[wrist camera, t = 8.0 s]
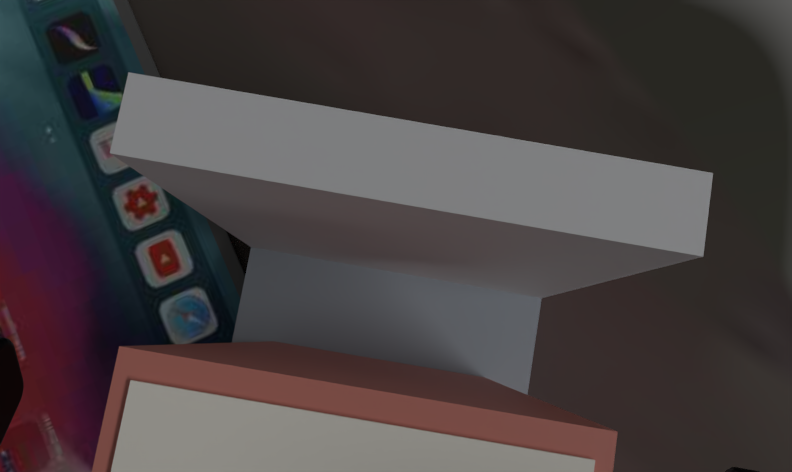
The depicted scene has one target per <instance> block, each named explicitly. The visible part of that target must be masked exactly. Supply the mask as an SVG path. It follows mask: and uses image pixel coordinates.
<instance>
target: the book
mask: <svg viewBox="0 0 792 472" xmlns="http://www.w3.org/2000/svg"><path fill="white" fill-rule="evenodd" d="M617 433H618V432H617V431H615V430H612V429H610V428H607V427H605V426H602V425H600V424H597V423H595V422H593V421H590V420H588V419H585V418H583V417H580V416H578V415H575V414H573V413H571V412H568V411H566V410H563V409H561V408H558V407H556V406H553V405H551V404H549V403H546V402H544V401H541V400H539V399H536V398H534V397H531V396H529V395H527V394H524V393H522V392H519V391H517V390H514V389H512V388H509V387H507V386H504V385H502V384H500V383H497V382H495V381H492V380H490V379H487V378H485V377H479V376H474V375H468V374H462V373H456V372H450V371H444V370H439V369H433V368H427V367H421V366H415V365H409V364H403V363H398V362H392V361H386V360H380V359H374V358H368V357H363V356H357V355H351V354H345V353H339V352H333V351H328V350H322V349H316V348H310V347H304V346H298V345H292V344H287V343H281V342H275V341H266V342H235V343H204V344H172V345H141V346H119V349H118V354H117V359H116V363H115V368H114V372H113V377H112V381H111V386H110V391H109V395H108V400H107V404H106V409H105V413H104V418H103V423H102V427H101V432H100V436H99V441H98V445H97V450H96V454H95V459H94V464H93V468H92V472H613V465H614V457H615V449H616V441H617Z"/></svg>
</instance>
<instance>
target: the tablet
mask: <svg viewBox="0 0 792 472" xmlns="http://www.w3.org/2000/svg"><path fill="white" fill-rule="evenodd" d="M128 72H130V73H136V74H141V75H147V76H153V77H159V78H161V77H160V74H159V72H158V70H157V67H156V65H155V63H154V60H153V58H152V56H151V53H150V51H149V49H148V46H147V44H146V42H145V39H144V37H143V35H142V32H141V30H140V28H139V25H138V23H137V21H136V18H135V16H134V14H133V11H132V9H131V7H130V4H129V2H128V0H0V337H4V338H7V339H9V340H10V341H11V342H12V343H13V344H14V347H15V350H16V354H17V358H18V362H19V366H20V370H21V373H22V377H23V383H24V389H23V394H22V398H21V401H20V403H19V405H18V407H17V410H16V412H15V414H14V416H13V418H12V421H11V423H10V425H9V427H8V429H7V432H6V434H5V436H4V438H3V441H2V443H1V445H0V472H92V468H93V464H94V459H95V454H96V450H97V445H98V441H99V436H100V432H101V427H102V423H103V418H104V413H105V409H106V404H107V400H108V395H109V391H110V386H111V381H112V377H113V372H114V368H115V363H116V359H117V354H118V349H119V346H141V345H172V344H204V343H232V338H233V333H234V329H235V324H236V319H237V314H238V309H239V304H240V299H241V294H242V289H243V284H244V279H245V273H244V271H243V268H242V266H241V264H240V261H239V259H238V257H237V254H236V252H235V250H234V247H233V245H232V243H231V240H230V238H229V236H228V233H227V231H226V230H224V229H223V228H221V227H220V226H218V225H217V224H215V223H214V222H212V221H211V220H209V219H208V218H206V217H205V216H203V215H202V214H200V213H199V212H197V211H196V210H194V209H193V208H191V207H190V206H188V205H187V204H185V203H184V202H182V201H181V200H179V199H178V198H176V197H175V196H173V195H172V194H170V193H169V192H167V191H166V190H164V189H163V188H161V187H160V186H158V185H157V184H155V183H154V182H152V181H151V180H149V179H148V178H146V177H145V176H143V175H142V174H140V173H139V172H137V171H136V170H134V169H133V168H131V167H130V166H128V165H126V164H125V163H123V162H122V161H120V160H119V159H117V158H116V157H114V156H113V155H111V154H110V149H111V145H112V141H113V136H114V132H115V128H116V124H117V119H118V115H119V111H120V107H121V102H122V98H123V94H124V90H125V85H126V81H127V77H128Z"/></svg>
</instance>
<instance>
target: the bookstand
mask: <svg viewBox="0 0 792 472" xmlns="http://www.w3.org/2000/svg"><path fill="white" fill-rule="evenodd" d="M110 154H111V155H113V156H114V157H116V158H117V159H119V160H120V161H122V162H123V163H125V164H126V165H128V166H130V167H131V168H133V169H134V170H136V171H137V172H139V173H140V174H142V175H143V176H145V177H146V178H148V179H149V180H151V181H152V182H154V183H155V184H157V185H158V186H160V187H161V188H163V189H164V190H166V191H167V192H169V193H170V194H172V195H173V196H175V197H176V198H178V199H179V200H181V201H182V202H184V203H185V204H187V205H188V206H190V207H191V208H193V209H194V210H196V211H197V212H199V213H200V214H202V215H203V216H205V217H206V218H208V219H209V220H211V221H212V222H214V223H215V224H217V225H218V226H220V227H221V228H223V229H224V230H226V231H227V232H229V233H230V234H232V235H233V236H235V237H236V238H238V239H239V240H241V241H243V242H244V243H246V244H247V245H249V246H250V247H251V250H250V255H249V260H248V265H247V270H246V275H245V279H244V284H243V289H242V294H241V299H240V304H239V309H238V314H237V319H236V324H235V329H234V333H233V338H232V343H235V342H266V341H275V342H281V343H287V344H292V345H298V346H304V347H310V348H316V349H322V350H328V351H333V352H339V353H345V354H351V355H357V356H363V357H368V358H374V359H380V360H386V361H392V362H398V363H403V364H409V365H415V366H421V367H427V368H433V369H439V370H444V371H450V372H456V373H462V374H468V375H474V376H479V377H485V378H487V379H490V380H492V381H495V382H497V383H500V384H502V385H504V386H507V387H509V388H512V389H514V390H517V391H519V392H522V393H524V394H528V387H529V380H530V373H531V366H532V360H533V353H534V346H535V339H536V332H537V326H538V319H539V312H540V305H541V298H544V297H548V296H552V295H555V294H559V293H563V292H567V291H571V290H575V289H579V288H583V287H587V286H591V285H594V284H598V283H602V282H606V281H610V280H614V279H618V278H622V277H626V276H629V275H633V274H637V273H641V272H645V271H649V270H653V269H657V268H661V267H665V266H668V265H672V264H676V263H680V262H684V261H688V260H692V259H696V258H700V257H703V254H704V246H705V237H706V229H707V220H708V212H709V203H710V195H711V186H712V178H713V173H709V172H703V171H697V170H692V169H686V168H680V167H674V166H669V165H663V164H657V163H651V162H645V161H640V160H634V159H628V158H622V157H616V156H611V155H605V154H599V153H593V152H587V151H582V150H576V149H570V148H564V147H558V146H553V145H547V144H541V143H535V142H529V141H524V140H518V139H512V138H506V137H500V136H495V135H489V134H483V133H477V132H472V131H466V130H460V129H454V128H448V127H443V126H437V125H431V124H425V123H419V122H414V121H408V120H402V119H396V118H390V117H385V116H379V115H373V114H367V113H361V112H356V111H350V110H344V109H338V108H332V107H327V106H321V105H315V104H309V103H304V102H298V101H292V100H286V99H280V98H275V97H269V96H263V95H257V94H251V93H246V92H240V91H234V90H228V89H222V88H217V87H211V86H205V85H199V84H193V83H188V82H182V81H176V80H170V79H164V78H159V77H153V76H147V75H141V74H136V73H130V72H128V77H127V81H126V85H125V90H124V94H123V98H122V102H121V107H120V111H119V115H118V119H117V124H116V128H115V132H114V136H113V141H112V145H111V149H110Z"/></svg>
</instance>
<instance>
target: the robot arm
mask: <svg viewBox="0 0 792 472" xmlns="http://www.w3.org/2000/svg"><path fill="white" fill-rule="evenodd" d="M23 389H24V383H23V377H22V373H21V370H20V366H19V362H18V358H17V354H16V350H15V347H14V344H13V343H12V342H11V341H10V340H9V339H7V338H4V337H0V445H1V443H2V441H3V438H4V436H5V434H6V432H7V429H8V427H9V425H10V423H11V421H12V418H13V416H14V414H15V412H16V410H17V407H18V405H19V403H20V401H21V398H22V394H23ZM725 472H759V471H754V470H749V469H743V468H737V467H732V468H730V469H728V470H726V471H725Z"/></svg>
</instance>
